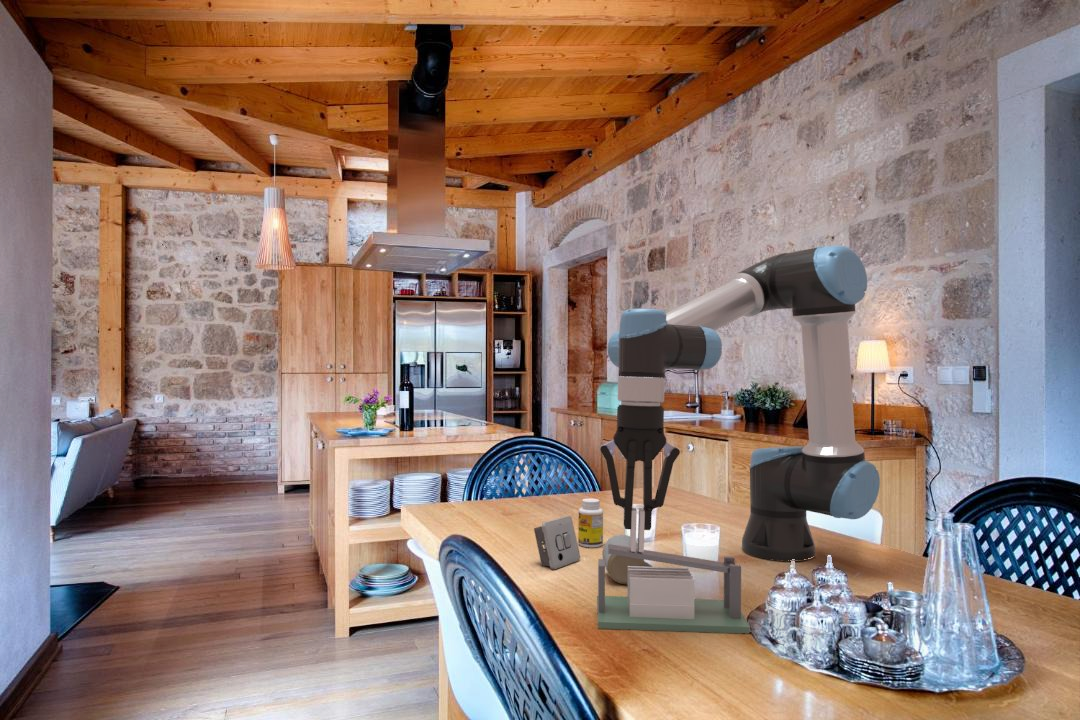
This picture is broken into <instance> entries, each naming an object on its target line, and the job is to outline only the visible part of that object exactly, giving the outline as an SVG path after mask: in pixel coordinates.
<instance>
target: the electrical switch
mask: <svg viewBox="0 0 1080 720" xmlns="http://www.w3.org/2000/svg"><path fill="white" fill-rule="evenodd" d="M541 523H542V524H541V525H540V526H538V527H534V528H533V531H534V534H535V535H534V536H535V540H536V546H537V549H538V555H539V559H540V564H541V567H549V568H550V569H551V570H552V569H553V570H557V569H560V568H563V567H565V566H567V565H570V564H573V563H576V562H579V561H580V559H581V554H580V548H579V543H578V540H577V536H576V532H575V526H574V523H573V518H572V516H570V515H566V516H565V515H564V516H562V517H559V518H555V519H551V520H548V521H544V522H541Z"/></svg>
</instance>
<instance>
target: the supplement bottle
mask: <svg viewBox="0 0 1080 720" xmlns="http://www.w3.org/2000/svg"><path fill="white" fill-rule="evenodd" d="M581 501H582V502H581V507H579V508H578V533H577V534H578V540H577V543H578V545H580V546H581V547H584V548H588V547H589V548H590V549H591V548H592V549H594V548H600V547H601V546H602V545H603V544H604V509H602V508H601V505H600V502H601V501H600V500H599V499H597V498H592V497H591V498H590V497H589V498H584V499H582V500H581Z"/></svg>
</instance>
